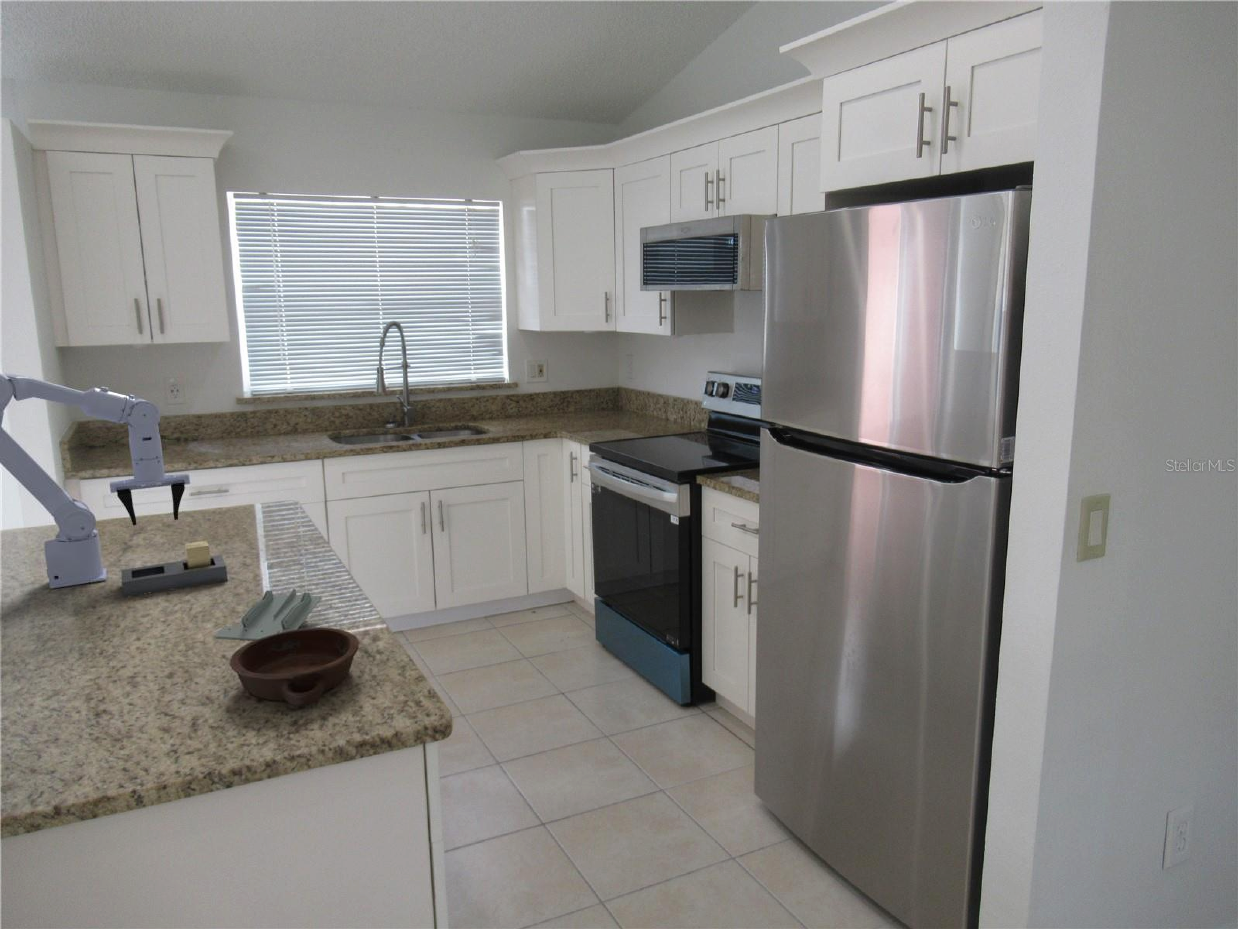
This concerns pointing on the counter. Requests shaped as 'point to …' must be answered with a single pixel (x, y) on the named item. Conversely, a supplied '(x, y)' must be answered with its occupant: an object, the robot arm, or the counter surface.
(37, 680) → the counter surface
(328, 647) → the dish
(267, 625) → the metal bracket
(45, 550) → the robot arm
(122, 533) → the counter surface
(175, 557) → the counter surface
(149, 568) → the grey slotted block
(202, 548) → the brass peg
